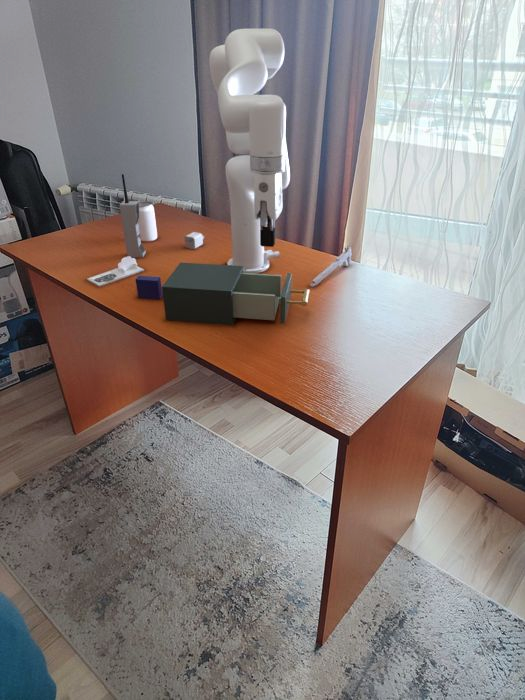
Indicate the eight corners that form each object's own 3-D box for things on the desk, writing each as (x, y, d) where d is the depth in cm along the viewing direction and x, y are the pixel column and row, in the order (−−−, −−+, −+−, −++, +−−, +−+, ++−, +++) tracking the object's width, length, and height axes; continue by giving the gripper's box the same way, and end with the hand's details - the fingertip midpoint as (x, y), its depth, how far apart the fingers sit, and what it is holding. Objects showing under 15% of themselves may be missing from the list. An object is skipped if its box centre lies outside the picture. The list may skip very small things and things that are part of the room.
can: (137, 236, 172) (132, 201, 166) (156, 234, 174) (152, 200, 167) (139, 243, 167) (134, 207, 161) (158, 240, 169) (154, 205, 162)
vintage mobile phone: (143, 257, 156) (131, 175, 143) (127, 257, 156) (114, 175, 143) (146, 253, 159) (134, 172, 146) (130, 253, 159) (117, 172, 146)
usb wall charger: (185, 247, 163) (184, 235, 161) (197, 240, 168) (197, 229, 166) (195, 249, 162) (194, 237, 160) (207, 242, 167) (206, 231, 165)
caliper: (347, 264, 151) (349, 244, 148) (350, 264, 151) (352, 245, 147) (309, 286, 138) (310, 265, 134) (312, 287, 137) (313, 266, 134)
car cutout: (131, 264, 152) (129, 250, 149) (144, 270, 148) (142, 256, 145) (87, 280, 142) (83, 265, 140) (99, 286, 139) (96, 271, 136)
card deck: (162, 295, 134) (160, 276, 131) (159, 299, 132) (157, 280, 129) (141, 294, 135) (138, 275, 132) (138, 297, 133) (135, 279, 130)
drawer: (309, 299, 129) (311, 274, 125) (305, 325, 118) (306, 298, 114) (232, 294, 132) (231, 269, 128) (220, 319, 121) (219, 292, 117)
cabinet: (244, 297, 132) (243, 266, 128) (232, 325, 120) (231, 291, 115) (183, 293, 135) (180, 262, 130) (165, 319, 122) (161, 286, 118)
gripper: (279, 171, 100) (278, 258, 110) (289, 157, 113) (288, 235, 122) (242, 170, 102) (245, 255, 111) (257, 156, 114) (258, 234, 124)
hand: (267, 245), depth 117 cm, fingers closed
